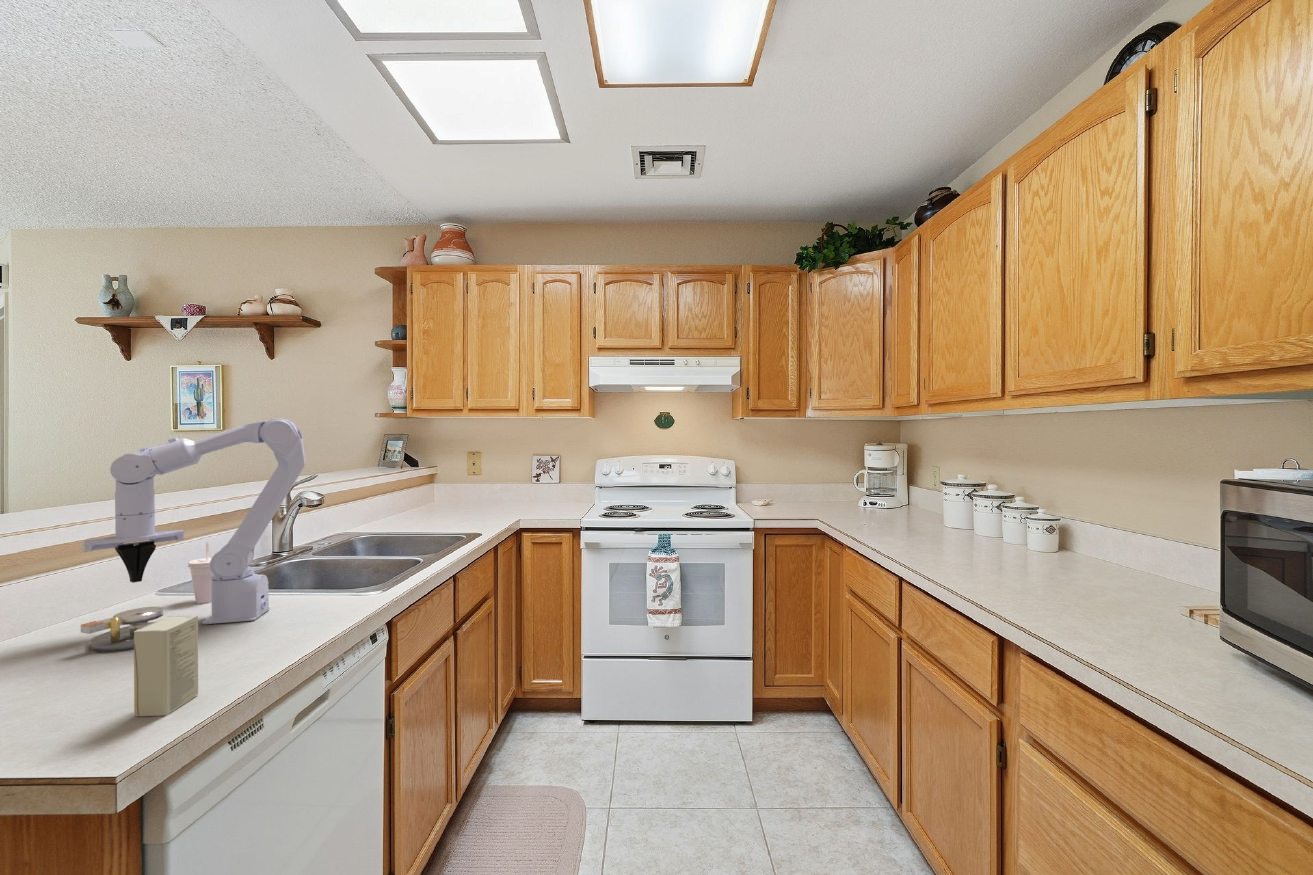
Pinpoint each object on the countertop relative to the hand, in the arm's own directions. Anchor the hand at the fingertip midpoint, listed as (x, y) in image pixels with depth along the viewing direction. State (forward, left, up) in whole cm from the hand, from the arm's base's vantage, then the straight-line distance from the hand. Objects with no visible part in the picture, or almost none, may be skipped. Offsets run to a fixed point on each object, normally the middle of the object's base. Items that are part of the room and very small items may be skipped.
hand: (135, 581), depth 109 cm
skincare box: (-25, +38, -10) cm, 47 cm away
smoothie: (-3, -19, -10) cm, 22 cm away
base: (-3, +6, -10) cm, 12 cm away
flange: (-2, +7, -6) cm, 10 cm away
